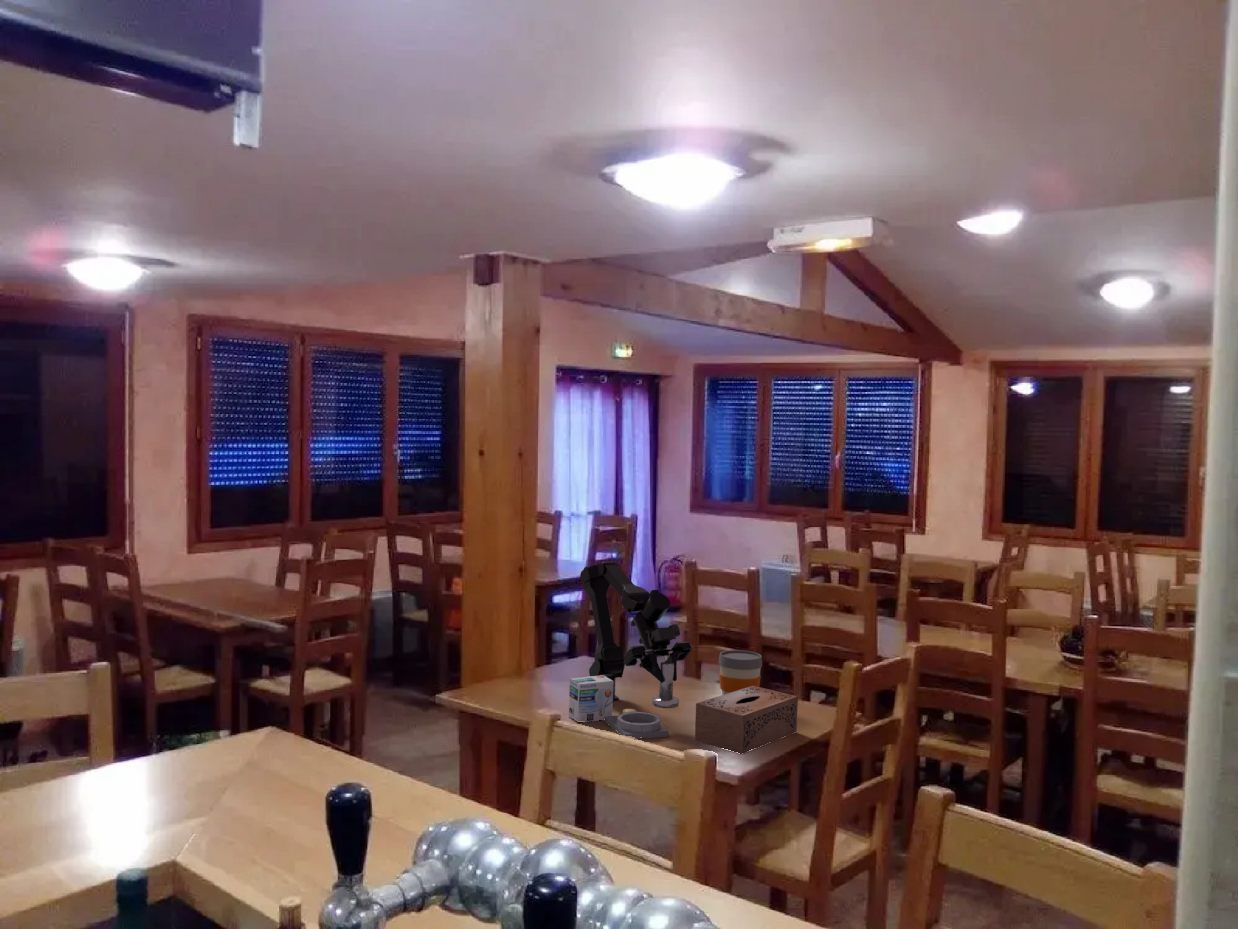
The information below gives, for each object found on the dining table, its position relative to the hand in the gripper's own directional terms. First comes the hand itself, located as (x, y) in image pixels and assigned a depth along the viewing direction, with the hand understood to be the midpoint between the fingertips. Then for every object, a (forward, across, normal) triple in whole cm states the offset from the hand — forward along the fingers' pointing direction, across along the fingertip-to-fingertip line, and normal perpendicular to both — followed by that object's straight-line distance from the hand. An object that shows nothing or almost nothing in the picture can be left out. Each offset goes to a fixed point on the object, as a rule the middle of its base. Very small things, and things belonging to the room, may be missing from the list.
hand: (669, 681), depth 265 cm
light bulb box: (-3, -13, +23) cm, 26 cm away
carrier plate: (+6, -7, +13) cm, 16 cm away
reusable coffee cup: (+2, +32, +18) cm, 36 cm away
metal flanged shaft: (+4, 0, +6) cm, 7 cm away
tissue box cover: (+18, +17, +1) cm, 25 cm away
